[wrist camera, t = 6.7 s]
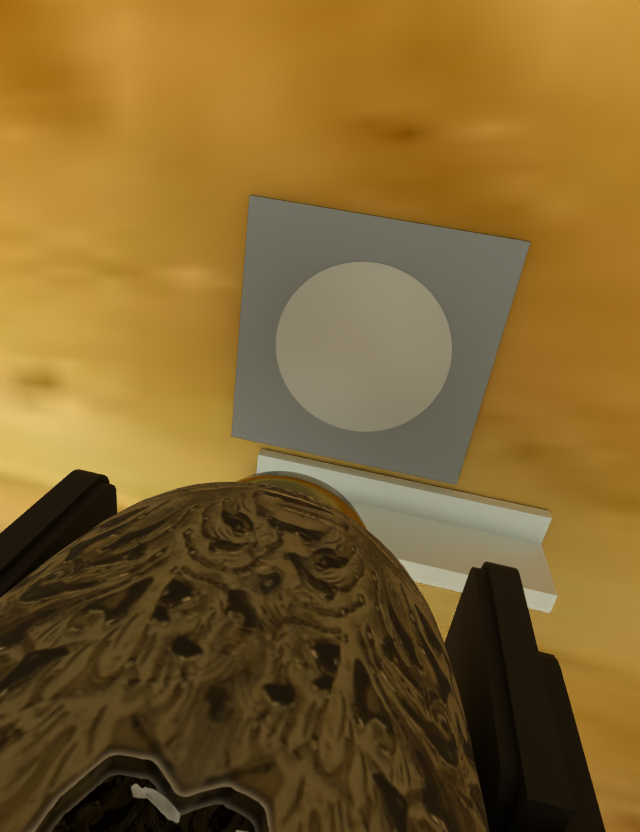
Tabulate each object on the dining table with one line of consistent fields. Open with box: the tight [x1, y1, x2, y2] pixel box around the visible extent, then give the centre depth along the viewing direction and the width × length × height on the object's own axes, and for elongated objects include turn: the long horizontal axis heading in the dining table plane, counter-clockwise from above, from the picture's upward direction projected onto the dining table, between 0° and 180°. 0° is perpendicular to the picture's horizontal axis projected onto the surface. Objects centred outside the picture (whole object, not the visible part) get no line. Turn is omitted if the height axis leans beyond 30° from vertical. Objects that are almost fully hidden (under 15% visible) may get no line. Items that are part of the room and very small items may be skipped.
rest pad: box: [231, 195, 530, 485], centre depth 23 cm, size 11×11×1 cm
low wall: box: [256, 449, 558, 613], centre depth 25 cm, size 4×14×4 cm, turn 82°
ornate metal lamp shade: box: [0, 471, 489, 832], centre depth 8 cm, size 8×7×8 cm
